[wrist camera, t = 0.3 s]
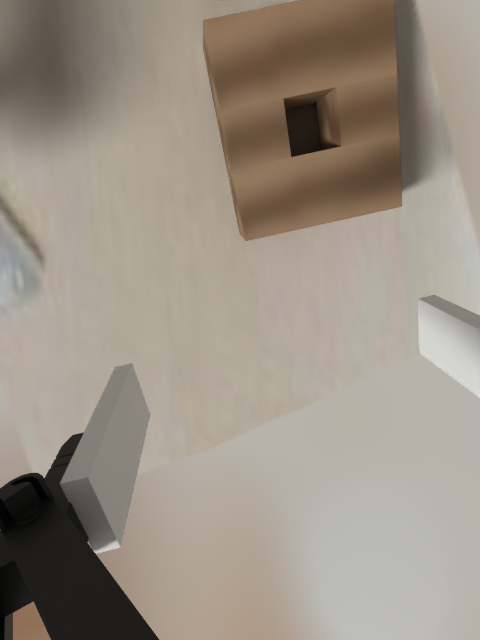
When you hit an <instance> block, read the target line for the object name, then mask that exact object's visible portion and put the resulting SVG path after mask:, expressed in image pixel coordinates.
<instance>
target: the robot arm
mask: <svg viewBox="0 0 480 640" xmlns="http://www.w3.org/2000/svg"><path fill="white" fill-rule="evenodd" d="M418 315H419V353H420V354H422V355H423V356H425V357H426V358H427V359H429V360H430V361H431V362H433V363H434V364H435V365H437V366H438V367H439V368H440V369H442V370H443V371H444V372H446V373H447V374H448V375H450V376H451V377H452V378H454V379H455V380H456V381H458V382H459V383H460V384H462V385H463V386H465V387H466V388H467V389H468V390H470V391H471V392H473V393H474V394H475V395H476V396H478V397H479V398H480V316H479V315H477V314H475V313H473V312H471V311H468V310H466V309H464V308H462V307H460V306H457V305H455V304H453V303H451V302H449V301H447V300H444V299H442V298H440V297H438V296H436V295H432V296H428V297H424V298H419V299H418ZM149 417H150V413H149V410H148V407H147V404H146V401H145V398H144V396H143V393H142V390H141V387H140V384H139V381H138V378H137V375H136V373H135V370H134V367H133V364H132V363H131V364H127V365H123V366H118V367H115V369H114V371H113V373H112V375H111V377H110V379H109V381H108V383H107V385H106V387H105V390H104V392H103V394H102V396H101V398H100V400H99V402H98V404H97V406H96V408H95V411H94V413H93V415H92V417H91V419H90V421H89V423H88V425H87V427H86V429H85V432H84V433H80V434H76V435H72V436H71V437H70V438H69V439H68V440H67V441H66V442H65V443H64V445H63V446H62V447H61V449H60V451H59V452H58V454H57V456H56V459H55V460H54V462H53V464H52V465H51V469H49V471H48V473H47V475H46V477H45V479H44V478H43V476H42V475H40V474H39V473H29V474H25V475H22V476H20V477H18V478H15V479H13V480H12V481H10V482H8V483H7V484H6V485H4V486H3V487H2V488H0V530H1V531H0V640H13V612H15V611H17V610H18V609H20V608H22V607H24V606H26V605H27V604H29V603H31V602H33V601H34V603H35V605H36V607H37V610H38V612H39V614H40V616H41V618H42V621H43V623H44V625H45V627H46V629H47V632H48V634H49V636H50V638H51V640H159V639H158V638H157V636H156V635H155V633H154V632H153V631H152V629H151V628H150V627H149V625H148V624H147V623H146V621H145V620H144V619H143V617H142V616H141V615H140V613H139V612H138V611H137V609H136V608H135V606H134V605H133V604H132V602H131V601H130V600H129V598H128V597H127V596H126V594H125V593H124V592H123V590H122V589H121V588H120V586H119V585H118V584H117V582H116V581H115V580H114V578H113V577H112V575H111V574H110V573H109V571H108V570H107V569H106V567H105V566H104V565H103V563H102V562H101V561H100V559H99V558H98V557H97V555H96V553H100V552H104V551H107V550H112V549H116V548H120V547H121V542H122V538H123V534H124V529H125V524H126V520H127V516H128V511H129V507H130V502H131V498H132V493H133V489H134V484H135V480H136V475H137V471H138V466H139V462H140V457H141V453H142V448H143V444H144V440H145V435H146V431H147V426H148V422H149ZM88 541H89V543H90V545H91V547H92V548H91V547H90V546H89V544H88V543H87V542H88ZM92 549H93V550H92Z"/></svg>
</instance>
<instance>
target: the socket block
mask: <svg viewBox="0 0 480 640" xmlns="http://www.w3.org/2000/svg"><path fill="white" fill-rule="evenodd" d="M203 51H204V56H205V61H206V66H207V71H208V76H209V81H210V86H211V91H212V96H213V101H214V106H215V111H216V116H217V121H218V126H219V131H220V136H221V141H222V146H223V151H224V156H225V161H226V166H227V171H228V176H229V181H230V186H231V191H232V197H233V202H234V207H235V212H236V217H237V222H238V227H239V232H240V235H241V236H242V237H243V238H244V239H245V240H246V241H248V240H253V239H257V238H262V237H266V236H271V235H275V234H280V233H284V232H289V231H294V230H298V229H303V228H307V227H312V226H316V225H321V224H325V223H330V222H334V221H339V220H343V219H348V218H352V217H357V216H361V215H366V214H370V213H375V212H379V211H384V210H388V209H393V208H397V207H402V187H401V161H400V134H399V107H398V80H397V53H396V26H395V0H300V1H295V2H290V3H285V4H280V5H275V6H270V7H266V8H261V9H256V10H251V11H246V12H241V13H236V14H231V15H226V16H221V17H217V18H212V19H207V20H203ZM313 103H316V110H317V120H318V129H319V138H320V147H321V151H318V152H313V153H308V154H304V155H299V156H295V157H291V151H290V144H289V136H288V129H287V122H286V114H285V109H290V108H295V107H299V106H304V105H309V104H313Z"/></svg>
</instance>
